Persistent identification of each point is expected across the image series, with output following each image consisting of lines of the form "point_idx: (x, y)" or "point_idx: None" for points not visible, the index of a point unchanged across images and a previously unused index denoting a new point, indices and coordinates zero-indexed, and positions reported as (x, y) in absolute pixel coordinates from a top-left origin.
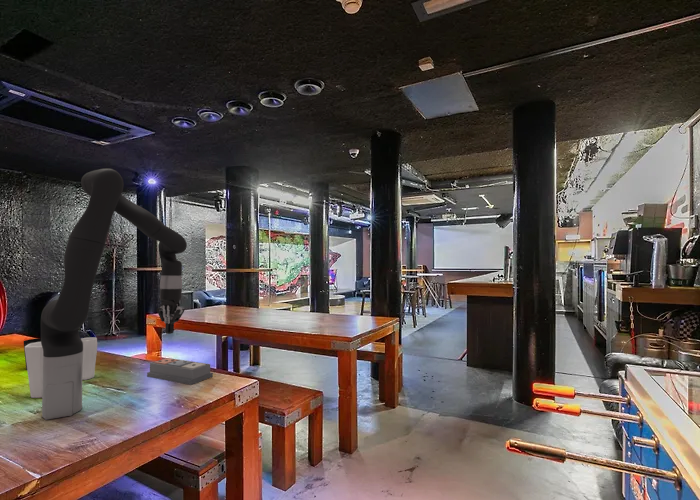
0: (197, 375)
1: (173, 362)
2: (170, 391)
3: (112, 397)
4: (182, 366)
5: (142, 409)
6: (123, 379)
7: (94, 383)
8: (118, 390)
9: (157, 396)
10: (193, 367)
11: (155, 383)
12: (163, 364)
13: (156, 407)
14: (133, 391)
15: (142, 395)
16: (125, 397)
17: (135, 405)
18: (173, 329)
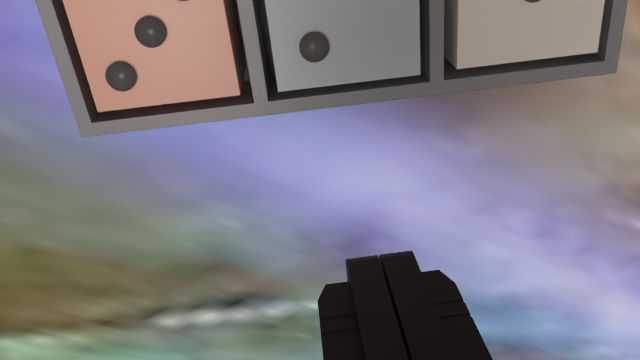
0: None
1: (305, 52)
2: (533, 189)
3: None
4: (467, 66)
5: (595, 348)
6: (53, 223)
7: (6, 329)
8: (255, 311)
9: (528, 256)
10: (585, 35)
11: (319, 161)
12: (224, 94)
13: (636, 315)
14: None
15: None
16: None
17: (528, 345)
18: (462, 300)
